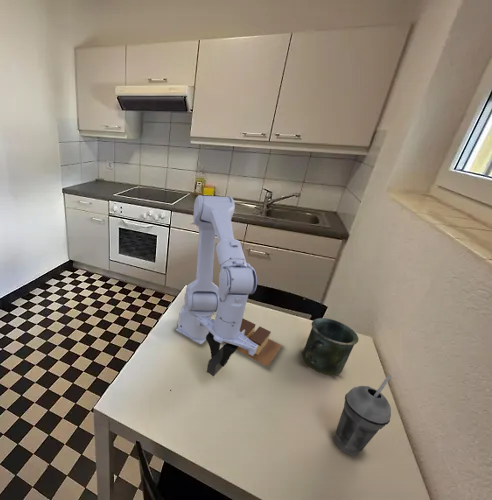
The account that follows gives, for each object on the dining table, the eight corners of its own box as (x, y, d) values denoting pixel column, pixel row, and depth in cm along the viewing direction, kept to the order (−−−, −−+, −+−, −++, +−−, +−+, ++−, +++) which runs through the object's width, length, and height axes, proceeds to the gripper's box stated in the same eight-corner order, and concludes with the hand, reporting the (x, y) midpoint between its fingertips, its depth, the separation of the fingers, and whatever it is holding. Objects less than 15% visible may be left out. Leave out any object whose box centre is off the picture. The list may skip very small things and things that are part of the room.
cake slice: (246, 348, 84) (249, 338, 82) (256, 336, 89) (259, 326, 88) (257, 354, 82) (261, 344, 80) (267, 341, 87) (270, 331, 86)
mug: (351, 370, 79) (367, 337, 74) (320, 388, 73) (335, 353, 68) (314, 345, 88) (327, 314, 83) (284, 359, 81) (295, 326, 76)
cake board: (210, 336, 89) (210, 335, 88) (227, 320, 97) (228, 318, 97) (267, 368, 78) (267, 366, 78) (281, 347, 86) (281, 345, 86)
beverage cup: (319, 428, 63) (350, 361, 55) (349, 426, 63) (384, 360, 55) (343, 464, 56) (383, 393, 48) (376, 462, 57) (421, 392, 49)
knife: (206, 371, 67) (208, 360, 65) (239, 336, 79) (241, 326, 78) (213, 376, 65) (216, 365, 64) (245, 339, 78) (248, 329, 76)
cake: (220, 334, 89) (222, 324, 87) (231, 323, 94) (233, 313, 93) (242, 346, 84) (245, 336, 83) (253, 334, 90) (255, 324, 88)
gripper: (192, 308, 64) (185, 353, 70) (253, 340, 56) (239, 388, 61) (208, 297, 69) (200, 339, 75) (266, 324, 61) (252, 370, 66)
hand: (219, 360), depth 68 cm, fingers closed on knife, 2 cm apart
